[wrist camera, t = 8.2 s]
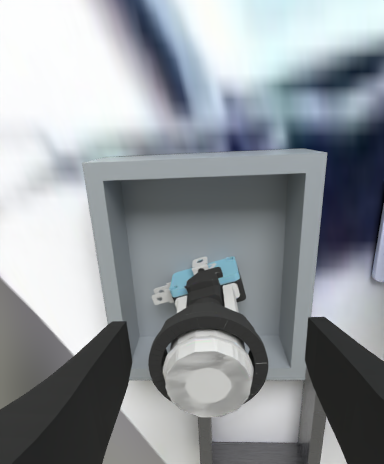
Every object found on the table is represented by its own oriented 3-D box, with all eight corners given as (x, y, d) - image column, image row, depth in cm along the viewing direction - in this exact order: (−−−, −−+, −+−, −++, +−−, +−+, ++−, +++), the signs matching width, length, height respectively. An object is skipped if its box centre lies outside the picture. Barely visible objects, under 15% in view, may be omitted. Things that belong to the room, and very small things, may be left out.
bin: (303, 148, 19) (327, 152, 15) (289, 340, 24) (304, 379, 20) (105, 156, 20) (82, 163, 16) (130, 342, 25) (116, 380, 21)
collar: (320, 345, 24) (332, 369, 22) (308, 450, 28) (317, 480, 25) (196, 346, 25) (195, 369, 22) (201, 449, 28) (201, 478, 26)
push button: (167, 317, 23) (142, 447, 14) (143, 257, 21) (94, 357, 12) (251, 295, 22) (286, 419, 13) (231, 231, 21) (254, 317, 11)
